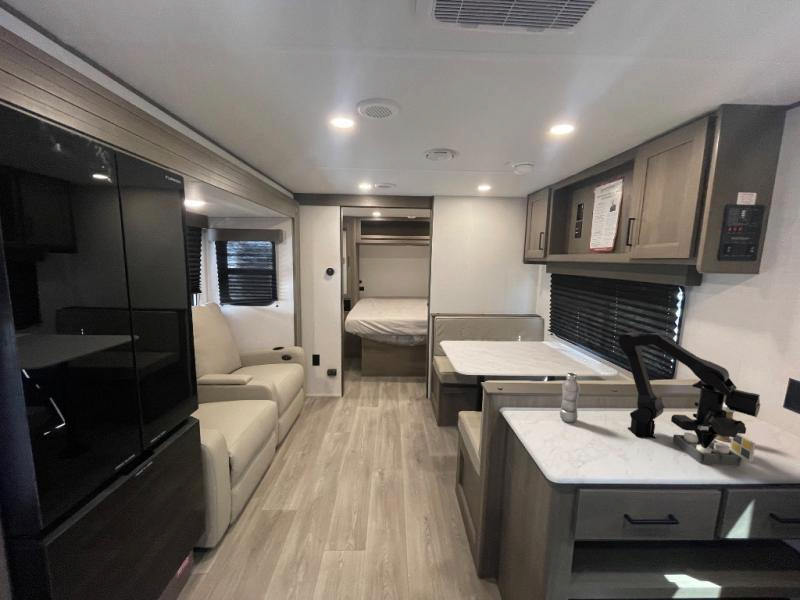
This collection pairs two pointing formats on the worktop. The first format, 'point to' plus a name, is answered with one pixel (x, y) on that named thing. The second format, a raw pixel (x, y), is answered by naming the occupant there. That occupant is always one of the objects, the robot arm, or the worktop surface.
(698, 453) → the button board
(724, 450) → the button
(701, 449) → the button
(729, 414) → the sprinkles bottle
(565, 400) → the plastic bottle
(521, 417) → the worktop surface
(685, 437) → the button
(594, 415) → the worktop surface
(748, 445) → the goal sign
